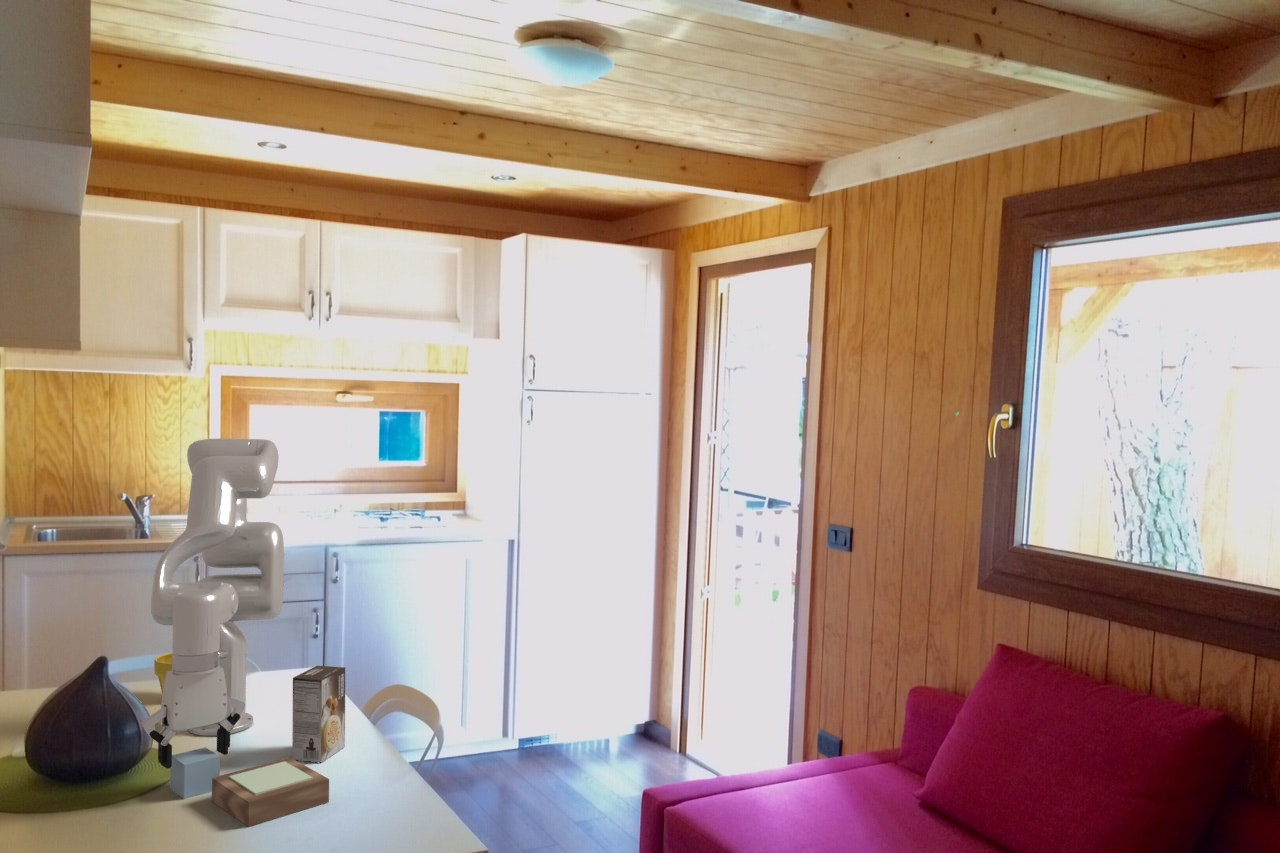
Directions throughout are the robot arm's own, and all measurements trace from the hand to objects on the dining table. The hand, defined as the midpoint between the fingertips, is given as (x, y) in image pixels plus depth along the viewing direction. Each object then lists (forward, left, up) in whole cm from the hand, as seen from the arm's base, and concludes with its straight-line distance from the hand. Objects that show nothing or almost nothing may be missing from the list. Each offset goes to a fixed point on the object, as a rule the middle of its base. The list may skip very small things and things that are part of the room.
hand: (194, 759), depth 171 cm
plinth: (+13, +7, -5) cm, 16 cm away
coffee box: (-2, +24, -6) cm, 25 cm away
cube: (-1, 0, -6) cm, 6 cm away
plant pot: (-54, +18, -6) cm, 57 cm away
